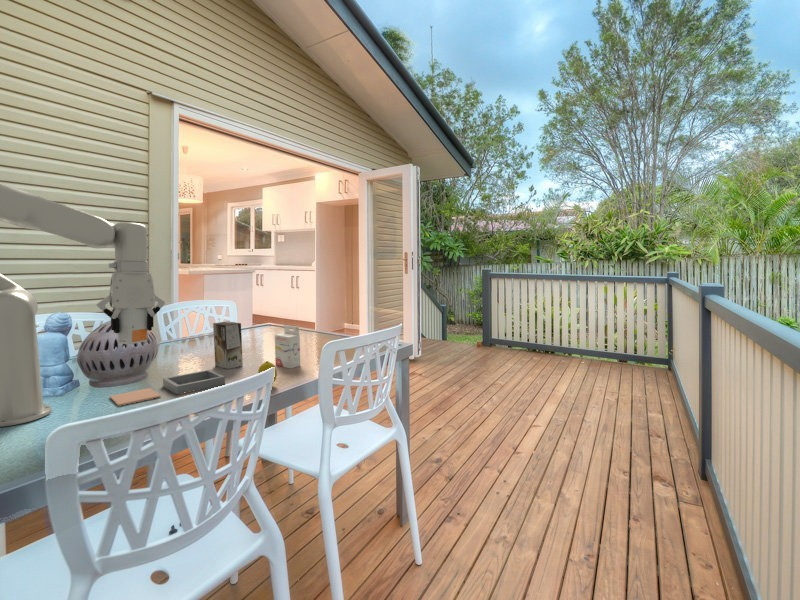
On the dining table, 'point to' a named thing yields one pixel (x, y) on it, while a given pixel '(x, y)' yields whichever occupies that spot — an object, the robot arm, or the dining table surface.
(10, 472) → the dining table surface
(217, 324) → the coffee box
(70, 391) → the dining table surface
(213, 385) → the tray
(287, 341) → the ink cartridge box
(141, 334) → the skincare box
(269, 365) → the lemon
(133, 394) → the tile
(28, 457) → the dining table surface
